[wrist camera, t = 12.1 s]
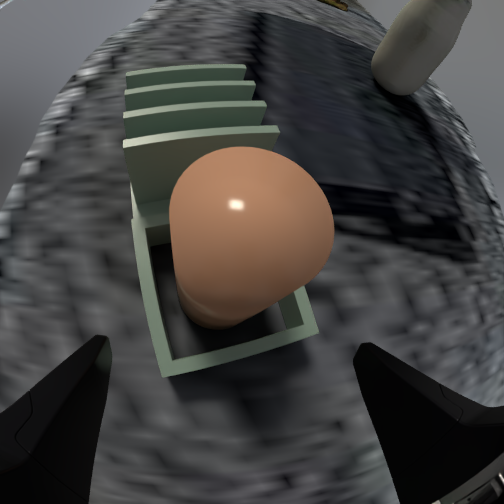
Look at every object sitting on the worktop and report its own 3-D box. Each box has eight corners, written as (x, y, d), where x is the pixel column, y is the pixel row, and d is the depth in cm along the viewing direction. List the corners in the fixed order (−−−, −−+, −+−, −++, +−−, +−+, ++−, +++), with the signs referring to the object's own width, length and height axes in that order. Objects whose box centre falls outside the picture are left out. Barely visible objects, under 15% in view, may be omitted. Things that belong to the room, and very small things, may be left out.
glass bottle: (363, 64, 40) (425, -35, 15) (406, 92, 41) (474, 1, 15) (360, 81, 36) (436, -38, 10) (409, 113, 36) (493, 8, 11)
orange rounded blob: (212, 346, 17) (249, 336, 7) (161, 282, 18) (136, 193, 8) (271, 296, 19) (360, 230, 9) (222, 238, 20) (261, 128, 10)
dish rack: (166, 373, 16) (151, 387, 9) (130, 138, 21) (122, 71, 15) (300, 336, 19) (361, 323, 12) (230, 126, 24) (247, 63, 18)
